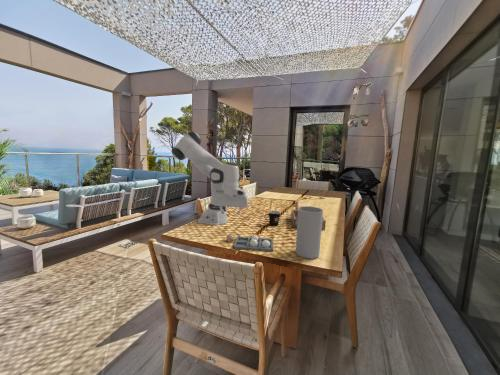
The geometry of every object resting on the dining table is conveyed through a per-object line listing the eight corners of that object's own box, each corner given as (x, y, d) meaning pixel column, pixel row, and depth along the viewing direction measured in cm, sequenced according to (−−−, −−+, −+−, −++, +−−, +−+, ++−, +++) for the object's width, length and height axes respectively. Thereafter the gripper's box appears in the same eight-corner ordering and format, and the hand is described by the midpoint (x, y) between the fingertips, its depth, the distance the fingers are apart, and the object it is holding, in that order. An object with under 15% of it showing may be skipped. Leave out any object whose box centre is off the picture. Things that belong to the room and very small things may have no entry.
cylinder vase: (323, 258, 116) (327, 212, 112) (300, 259, 114) (304, 212, 110) (312, 248, 128) (316, 206, 124) (292, 249, 126) (295, 206, 122)
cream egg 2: (249, 248, 124) (249, 240, 123) (249, 245, 128) (250, 237, 128) (257, 249, 123) (257, 241, 123) (257, 245, 128) (258, 238, 127)
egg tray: (233, 249, 123) (233, 246, 123) (237, 239, 138) (237, 236, 138) (273, 252, 121) (273, 249, 121) (272, 241, 136) (272, 238, 136)
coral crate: (293, 228, 162) (294, 218, 161) (290, 218, 187) (291, 210, 186) (324, 230, 160) (325, 220, 159) (317, 219, 185) (318, 211, 184)
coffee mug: (279, 223, 172) (280, 211, 170) (279, 227, 163) (280, 214, 162) (264, 222, 173) (264, 210, 171) (263, 226, 164) (264, 213, 163)
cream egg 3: (261, 249, 123) (261, 241, 123) (261, 245, 128) (262, 238, 127) (269, 249, 123) (270, 242, 122) (269, 246, 127) (270, 238, 127)
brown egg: (225, 243, 132) (225, 235, 131) (227, 240, 136) (227, 232, 135) (233, 243, 131) (233, 236, 131) (234, 240, 136) (234, 233, 135)
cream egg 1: (250, 243, 131) (250, 236, 130) (250, 240, 135) (251, 233, 135) (258, 244, 130) (258, 236, 130) (258, 240, 135) (258, 233, 134)
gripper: (212, 190, 127) (211, 214, 129) (247, 192, 125) (246, 216, 127) (214, 188, 133) (214, 211, 135) (248, 190, 131) (248, 213, 133)
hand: (230, 213), depth 131 cm, fingers open, 8 cm apart
